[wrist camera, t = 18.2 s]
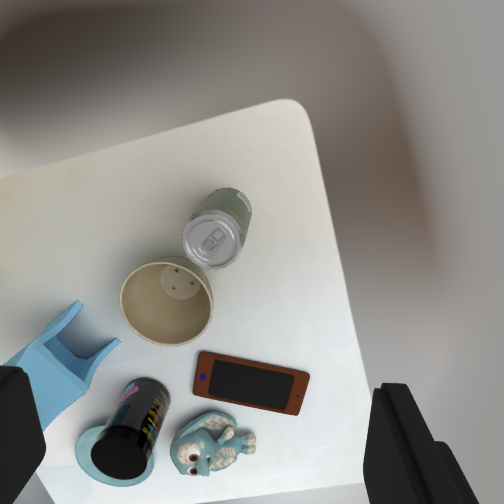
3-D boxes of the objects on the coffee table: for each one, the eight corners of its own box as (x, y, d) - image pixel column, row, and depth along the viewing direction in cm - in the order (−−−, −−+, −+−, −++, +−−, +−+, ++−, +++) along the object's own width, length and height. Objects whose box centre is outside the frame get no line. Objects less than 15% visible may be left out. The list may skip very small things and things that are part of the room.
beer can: (227, 176, 41) (208, 198, 30) (261, 209, 42) (256, 243, 31) (196, 210, 42) (166, 243, 31) (230, 241, 43) (213, 284, 32)
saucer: (104, 401, 53) (96, 413, 51) (173, 440, 55) (168, 453, 53) (69, 448, 57) (61, 461, 55) (135, 484, 58) (129, 498, 56)
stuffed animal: (259, 498, 50) (169, 508, 48) (252, 453, 57) (173, 461, 55) (260, 438, 46) (164, 447, 45) (253, 397, 53) (169, 404, 52)
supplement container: (149, 367, 50) (118, 427, 41) (181, 400, 52) (159, 465, 42) (115, 390, 52) (78, 452, 42) (147, 420, 54) (118, 488, 44)
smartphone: (198, 353, 48) (311, 376, 48) (200, 349, 49) (310, 371, 49) (191, 396, 50) (298, 417, 50) (193, 391, 51) (298, 412, 51)
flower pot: (221, 316, 47) (212, 349, 40) (145, 311, 47) (123, 343, 41) (222, 242, 43) (212, 265, 37) (139, 238, 44) (114, 260, 37)
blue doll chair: (40, 331, 50) (-105, 460, 31) (78, 299, 47) (-53, 418, 29) (82, 370, 51) (-30, 515, 33) (121, 341, 49) (24, 479, 30)
